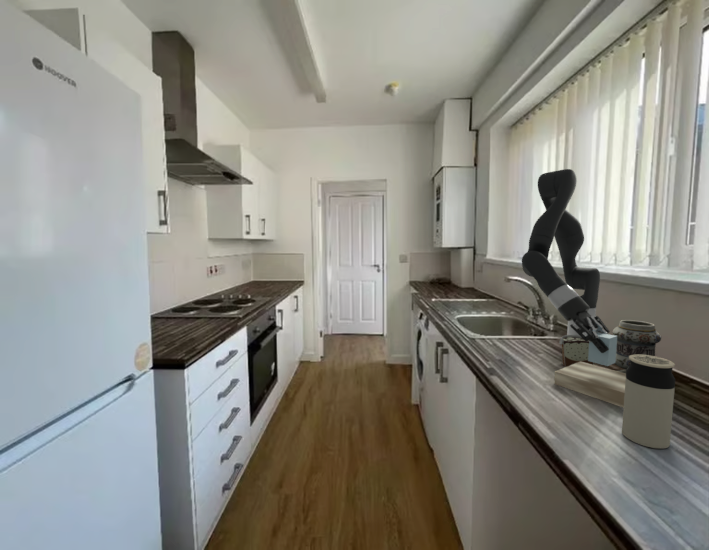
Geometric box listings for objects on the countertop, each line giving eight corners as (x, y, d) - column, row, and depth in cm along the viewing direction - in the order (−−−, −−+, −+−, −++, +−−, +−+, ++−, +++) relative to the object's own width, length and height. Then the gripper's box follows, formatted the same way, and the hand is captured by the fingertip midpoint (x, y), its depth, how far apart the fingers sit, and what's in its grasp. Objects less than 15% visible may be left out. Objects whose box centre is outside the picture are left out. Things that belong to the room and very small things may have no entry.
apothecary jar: (650, 373, 110) (654, 320, 108) (665, 388, 99) (670, 328, 97) (605, 368, 115) (608, 316, 113) (615, 381, 104) (618, 324, 102)
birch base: (579, 373, 111) (580, 361, 111) (648, 393, 96) (650, 379, 96) (554, 384, 103) (554, 371, 102) (625, 408, 87) (626, 393, 87)
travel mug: (674, 454, 68) (681, 369, 67) (624, 442, 73) (630, 362, 71) (664, 435, 75) (671, 357, 73) (619, 425, 79) (624, 351, 78)
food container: (587, 361, 121) (589, 334, 120) (597, 368, 115) (599, 339, 114) (551, 360, 123) (553, 334, 122) (560, 367, 117) (561, 339, 116)
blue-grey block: (595, 357, 102) (597, 332, 101) (615, 362, 98) (617, 336, 97) (588, 360, 99) (589, 334, 98) (607, 366, 95) (609, 338, 94)
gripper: (565, 297, 99) (610, 347, 90) (588, 293, 107) (632, 339, 98) (546, 311, 104) (587, 360, 95) (569, 307, 112) (609, 352, 103)
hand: (609, 349), depth 96 cm, fingers closed on blue-grey block, 5 cm apart
